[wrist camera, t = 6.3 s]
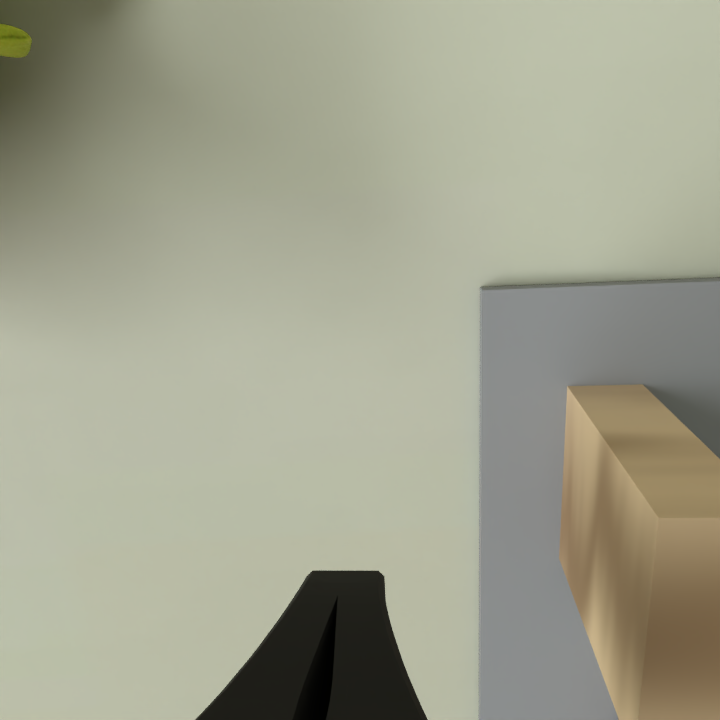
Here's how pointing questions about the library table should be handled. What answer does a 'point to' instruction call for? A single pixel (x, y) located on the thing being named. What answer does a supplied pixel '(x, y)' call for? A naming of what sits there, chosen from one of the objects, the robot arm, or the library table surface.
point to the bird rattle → (14, 42)
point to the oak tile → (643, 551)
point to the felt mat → (546, 459)
